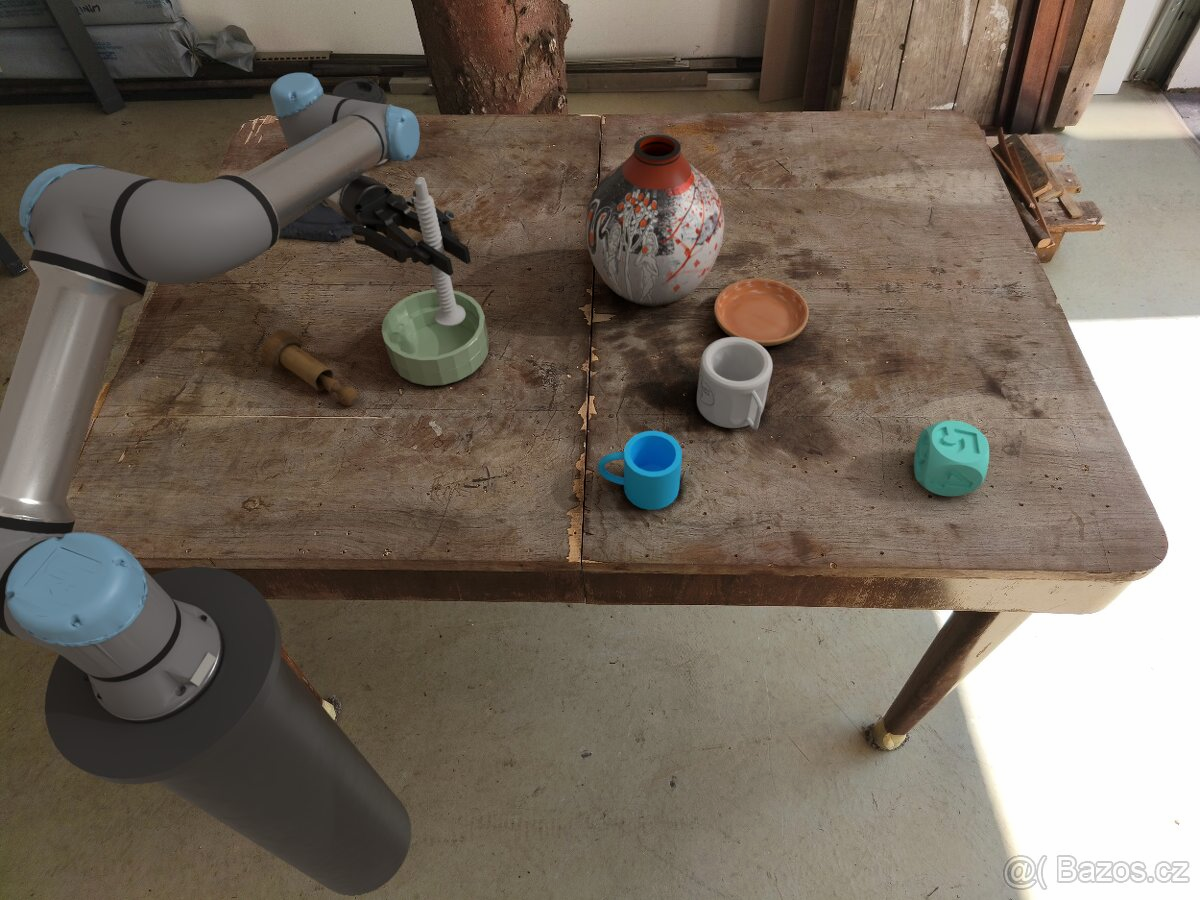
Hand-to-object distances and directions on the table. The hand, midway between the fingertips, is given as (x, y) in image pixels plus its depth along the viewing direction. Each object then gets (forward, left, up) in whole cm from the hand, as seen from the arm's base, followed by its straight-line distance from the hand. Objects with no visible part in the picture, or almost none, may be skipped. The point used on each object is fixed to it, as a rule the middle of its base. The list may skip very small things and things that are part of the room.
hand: (458, 261), depth 117 cm
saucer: (+48, +9, -23) cm, 54 cm away
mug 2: (+41, -11, -23) cm, 48 cm away
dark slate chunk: (-37, +44, -23) cm, 62 cm away
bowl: (-7, +4, -22) cm, 24 cm away
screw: (-4, +4, -14) cm, 15 cm away
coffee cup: (-27, +64, -23) cm, 73 cm away
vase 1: (-9, +35, -23) cm, 42 cm away
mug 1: (+25, -25, -23) cm, 42 cm away
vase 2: (+30, +19, -23) cm, 42 cm away
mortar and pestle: (-34, +3, -19) cm, 39 cm away
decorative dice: (+70, -25, -23) cm, 78 cm away
